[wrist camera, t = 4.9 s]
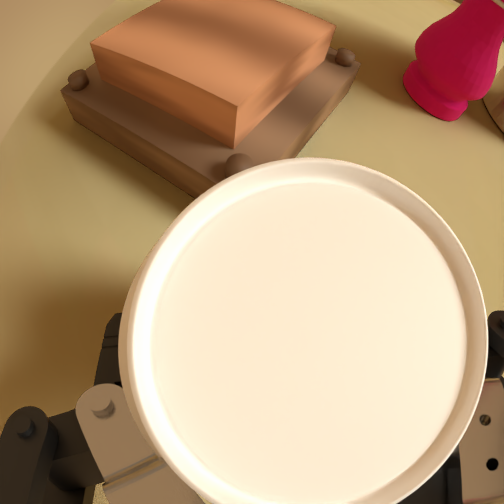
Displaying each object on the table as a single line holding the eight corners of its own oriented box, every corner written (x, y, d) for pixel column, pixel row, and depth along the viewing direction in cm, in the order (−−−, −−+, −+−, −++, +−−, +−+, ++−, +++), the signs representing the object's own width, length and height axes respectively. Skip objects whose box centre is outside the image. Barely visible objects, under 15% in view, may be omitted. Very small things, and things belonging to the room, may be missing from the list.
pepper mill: (458, 140, 21) (589, -25, 2) (388, 89, 22) (489, -105, 3) (465, 101, 24) (564, -35, 5) (406, 59, 24) (485, -94, 5)
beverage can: (267, 268, 16) (364, 81, 5) (335, 370, 15) (547, 364, 4) (159, 332, 15) (8, 250, 3) (229, 440, 13) (262, 618, 2)
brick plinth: (202, 25, 23) (203, -31, 17) (348, 92, 21) (375, 31, 16) (74, 119, 18) (45, 56, 12) (239, 228, 17) (250, 162, 11)
